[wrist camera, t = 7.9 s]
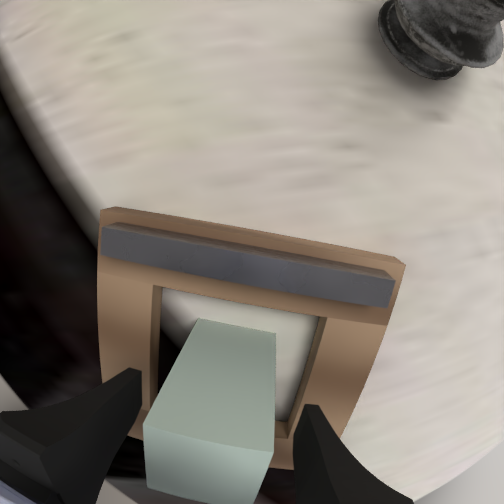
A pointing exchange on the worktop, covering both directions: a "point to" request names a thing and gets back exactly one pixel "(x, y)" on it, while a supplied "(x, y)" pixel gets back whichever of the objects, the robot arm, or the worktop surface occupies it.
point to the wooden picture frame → (330, 311)
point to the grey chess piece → (443, 34)
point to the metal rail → (247, 264)
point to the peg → (214, 416)
